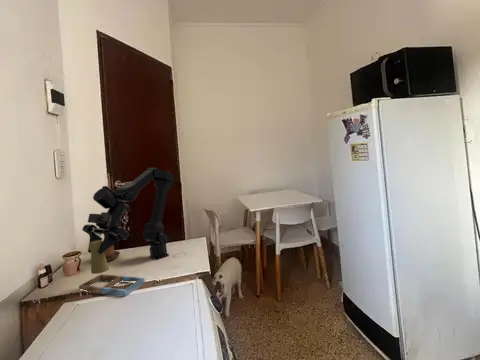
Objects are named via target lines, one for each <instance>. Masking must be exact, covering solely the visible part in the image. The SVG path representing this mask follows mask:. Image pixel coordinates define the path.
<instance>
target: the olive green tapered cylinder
mask: <svg viewBox="0 0 480 360" xmlns="http://www.w3.org/2000/svg"><path fill="white" fill-rule="evenodd" d="M102 242H103V240H96V241H93V242H91V243H90V244H89V243H88V247H89V250H90V251H91V253H90V270H91V271H90V273H91V274H96V275H97V274H98V275H99V274H102V273H105V272H107V271H109V269H110V268H109V264H108V261H107V260H106V257H105V253H104V252H103V253H101V254H99V253H98V251H99V249H100V246H101V244H102Z"/></svg>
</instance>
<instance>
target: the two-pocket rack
mask: <svg viewBox="0 0 480 360" xmlns="http://www.w3.org/2000/svg"><path fill="white" fill-rule="evenodd" d="M100 280H101V281H106V280H113V281H109V282H108V283H106V284H104V286H94V285H95V284H94V283H96V282H98V281H99V282H101V281H100ZM122 280H123V281H136V282H135V283H131V285H129V286H127V287H126V288H124V289H123V288H115V287H113V288H111V287H112V286H114V285H115V284H116V283H118V282H120V281H122ZM99 282H98V283H99ZM144 282H145V283H146V279H145V277H140V276H139V277H138V276H127V275H117V274H115V275H114V274H102V273H99V274H98V275H97V276H95V277H94V278H93V277H92V278H91V279H90V280H88V281H86V282H84V283H82V284H80V285H78V288H79V289H78V290H80V289H83V290H87V291H90V292H89V293H91V292H92V293H93V294H99V295H100V294H102V295H108V296H110V295H111V296H120V297H127V296H128V295H130V294H131V293H133V292H134V291H135V290H137V289H138V288H140V287H141V286H143V285H144V284H145V283H144ZM143 283H144V284H143ZM92 284H94V285H92ZM96 284H97V283H96ZM142 284H143V285H142ZM90 285H92V286H90Z"/></svg>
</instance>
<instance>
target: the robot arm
mask: <svg viewBox="0 0 480 360" xmlns="http://www.w3.org/2000/svg"><path fill="white" fill-rule="evenodd" d="M152 181H154V186H155V188H156V191H155V198H154V202H153V207H152V212H151V218H150V220H149V222H148V223H145V224H144V226H143V227H144V229H143V231H142V233H143V234H142V235H143V238H144V240H145V242H146V244H147V245H149V258H150V259H151V258H152V259H154V260H160V259H163V258H165V257H169V256H170V253H168V250H167V244H168V243H169V239H170V237H169V235H167V234H166V233H165V227H164V224H163V220H164V219H163V218H164V213H165V208H166V203H167V198H168V192H169V191H170V189H171V188H172V187H173V185H174V182H175V174H174V173H173V172H172V171H166V170H164V169H163V170H162V169H159V168H157V167H148V168H147V169H145V171H144V172H143V173H141V174H140V175H139V176H137V177H135V179H133V180H132V181H131V182H129V183H125V184H123V185H120V186H119V187H116V189H115V190H114V191H112V190H111V188H110V187H109V186H107V185H103V186H102V187H101V188H100V189H98V190H97V191H96V192H95V193H94V195H93V197H92V199H93V201H94V202H96V203H97V204H98V205H99V206H101V207H102V208H103V209H104V210H107V209H108V210H107V212H106V211H102V212H101V213H89V215H88V219H87V224H84V225H83V227H82V229H81V231H83V232H84V233H86V234H88V235H89V240H88V241H89V243H88V245H89V244H90V243H91V242H93V241H96V240H101V241H103V242H102V244H101V246H100V249H99V251H98V253H99V254H101V253H103V252H104V251H105V250H106V249H108V248H109V247H110V246H112V245H113V246H114V245H115V244H117V242H120V240H124V241H127V239H128V237H129V232H128V230H127V229H125V228H124V227H123V226H121V225H120V224H122V223H123V221H122V217H123V215H124V213H125V212H131V208H130V204H128V203H127V204H126V203H125V202H133V201H134V200H135V199H136V198H137V197H138V195H139V192H140V190H142V189H143V188H144V187H145V186H146V185H148V184H149V183H150V182H152ZM88 223H89V224H88ZM91 223H92V224H91ZM94 224H95V225H94ZM101 235H103V238H102V237H101ZM87 247H88V249H87V252H88V253H89V254H91V251H90V250H89V246H87Z"/></svg>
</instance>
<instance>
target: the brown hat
mask: <svg viewBox="0 0 480 360" xmlns="http://www.w3.org/2000/svg"><path fill="white" fill-rule="evenodd" d="M114 248H115V247H114V244H113V245H112V246H110V247H109V248H108V249H106V250H105V251H104V253H105V257H106V260H107V262H109V261H112V260H115V259H117V258H119V257H120V254H121V253H120V251H118V250H115V249H114Z"/></svg>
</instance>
